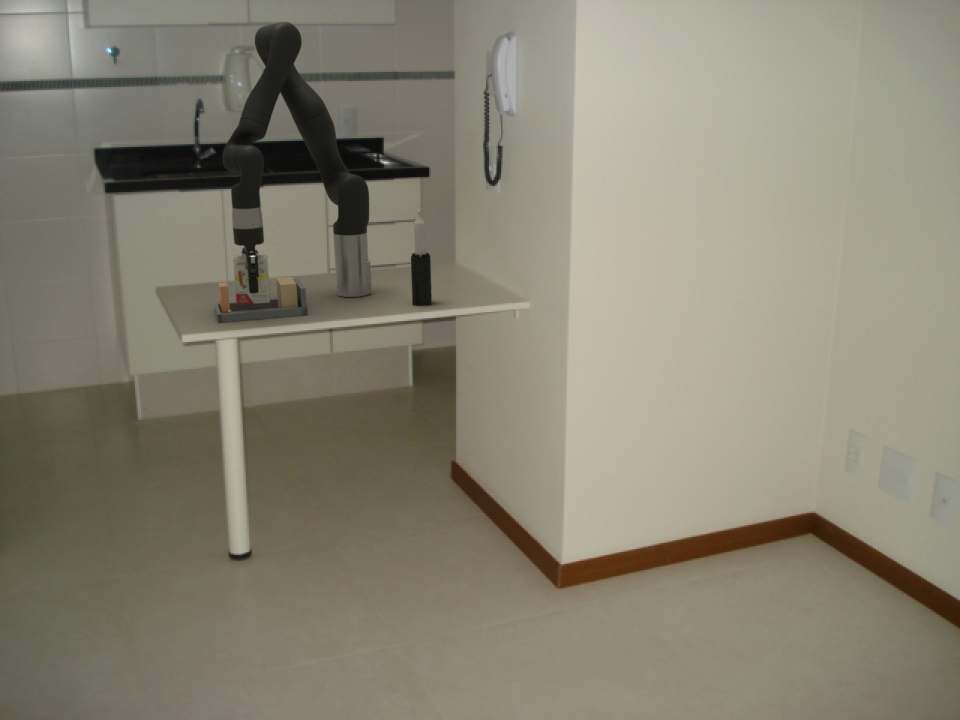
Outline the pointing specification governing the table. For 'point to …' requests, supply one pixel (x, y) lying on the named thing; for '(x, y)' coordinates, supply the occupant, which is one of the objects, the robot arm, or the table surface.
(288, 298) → the kraft carton
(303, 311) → the grey shallow tray
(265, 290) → the ink box
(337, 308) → the table surface
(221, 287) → the pusher
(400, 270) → the table surface
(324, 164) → the robot arm
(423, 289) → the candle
